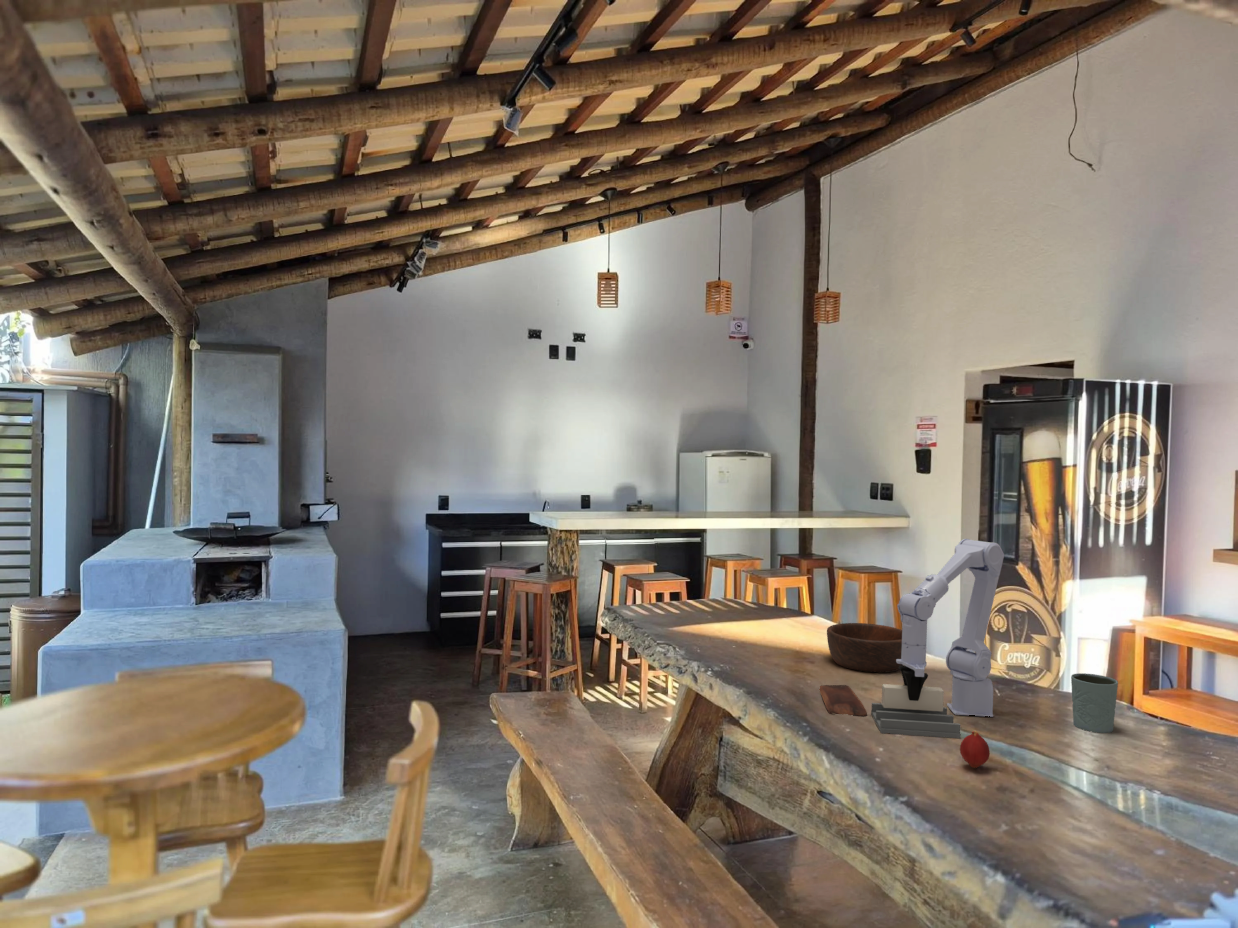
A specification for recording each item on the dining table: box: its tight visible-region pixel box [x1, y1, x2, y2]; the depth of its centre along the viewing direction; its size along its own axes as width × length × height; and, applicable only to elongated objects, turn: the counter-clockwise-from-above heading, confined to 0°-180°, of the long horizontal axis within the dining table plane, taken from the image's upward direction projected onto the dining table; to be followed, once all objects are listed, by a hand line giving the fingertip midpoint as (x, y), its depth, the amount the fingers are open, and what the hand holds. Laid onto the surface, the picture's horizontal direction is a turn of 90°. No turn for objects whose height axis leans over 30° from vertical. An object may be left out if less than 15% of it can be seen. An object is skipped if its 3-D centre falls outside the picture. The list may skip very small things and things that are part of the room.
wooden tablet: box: [818, 684, 868, 717], centre depth 223 cm, size 26×2×10 cm
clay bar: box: [881, 683, 945, 711], centre depth 206 cm, size 14×3×5 cm, turn 83°
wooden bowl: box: [826, 622, 904, 673], centre depth 259 cm, size 25×25×10 cm
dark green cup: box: [1070, 672, 1119, 734], centre depth 206 cm, size 10×10×12 cm
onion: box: [959, 730, 991, 769], centre depth 178 cm, size 6×6×8 cm
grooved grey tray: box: [870, 702, 962, 739], centre depth 204 cm, size 18×14×3 cm
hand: (912, 697), depth 206 cm, fingers closed on clay bar, 3 cm apart
